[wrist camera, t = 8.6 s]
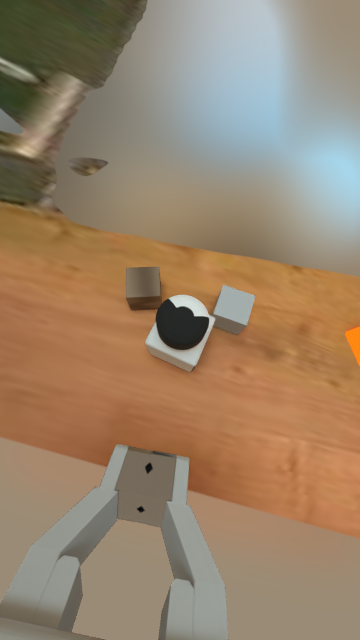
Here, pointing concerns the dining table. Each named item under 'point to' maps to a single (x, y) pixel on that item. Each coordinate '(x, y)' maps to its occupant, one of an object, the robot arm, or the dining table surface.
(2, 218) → the dining table surface
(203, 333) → the medicine bottle
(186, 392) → the dining table surface
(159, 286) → the walnut block
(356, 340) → the orange juice
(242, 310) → the grey painted block
